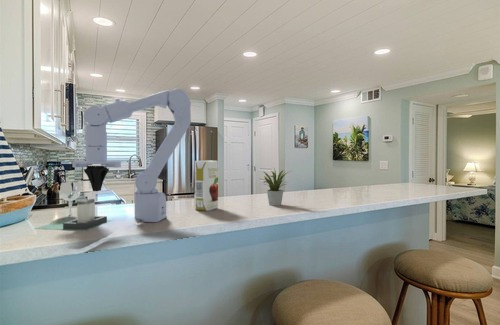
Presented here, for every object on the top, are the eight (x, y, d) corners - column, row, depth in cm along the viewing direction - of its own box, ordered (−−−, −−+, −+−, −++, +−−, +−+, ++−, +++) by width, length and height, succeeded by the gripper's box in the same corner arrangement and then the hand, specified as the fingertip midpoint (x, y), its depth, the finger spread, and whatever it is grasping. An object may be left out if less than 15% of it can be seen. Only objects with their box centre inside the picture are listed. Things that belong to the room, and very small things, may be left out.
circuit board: (112, 223, 87) (112, 215, 87) (86, 233, 75) (86, 224, 75) (67, 222, 88) (66, 214, 88) (34, 232, 76) (34, 223, 76)
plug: (89, 226, 79) (88, 201, 79) (77, 226, 78) (77, 201, 78) (95, 222, 84) (95, 198, 84) (84, 222, 83) (84, 198, 83)
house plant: (293, 202, 127) (294, 166, 127) (295, 207, 113) (296, 167, 113) (262, 201, 129) (262, 165, 128) (260, 207, 115) (260, 167, 114)
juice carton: (191, 209, 109) (191, 160, 108) (205, 206, 116) (205, 160, 116) (207, 211, 105) (207, 160, 105) (220, 208, 113) (220, 160, 112)
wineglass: (62, 216, 96) (62, 181, 96) (82, 215, 98) (81, 180, 98) (57, 220, 91) (57, 182, 90) (78, 218, 93) (78, 182, 92)
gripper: (125, 147, 90) (126, 189, 90) (83, 147, 91) (83, 189, 92) (113, 146, 83) (113, 192, 83) (67, 146, 84) (67, 191, 85)
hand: (96, 190), depth 87 cm, fingers closed
